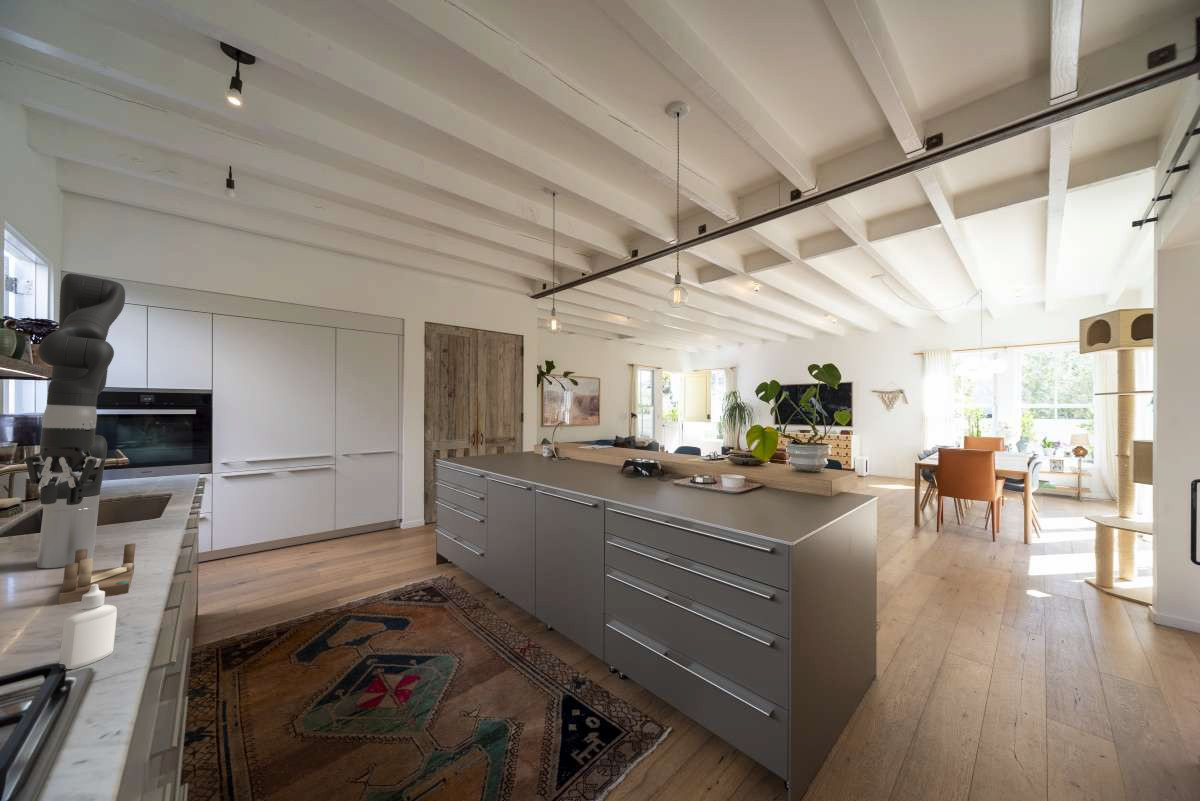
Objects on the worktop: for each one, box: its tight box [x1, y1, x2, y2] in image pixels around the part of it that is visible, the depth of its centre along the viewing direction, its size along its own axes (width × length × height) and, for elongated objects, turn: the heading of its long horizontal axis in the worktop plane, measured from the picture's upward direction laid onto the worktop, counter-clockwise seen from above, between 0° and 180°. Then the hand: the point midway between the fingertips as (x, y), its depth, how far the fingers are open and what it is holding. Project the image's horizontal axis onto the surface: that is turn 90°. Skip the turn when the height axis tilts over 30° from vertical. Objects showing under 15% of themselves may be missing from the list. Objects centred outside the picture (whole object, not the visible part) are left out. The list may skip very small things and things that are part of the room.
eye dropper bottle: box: [58, 584, 118, 670], centre depth 69 cm, size 4×6×12 cm
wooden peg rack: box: [58, 543, 136, 605], centre depth 97 cm, size 16×10×8 cm, turn 44°
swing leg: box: [78, 558, 134, 586], centre depth 97 cm, size 11×2×5 cm, turn 5°
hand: (61, 503), depth 94 cm, fingers open, 4 cm apart
